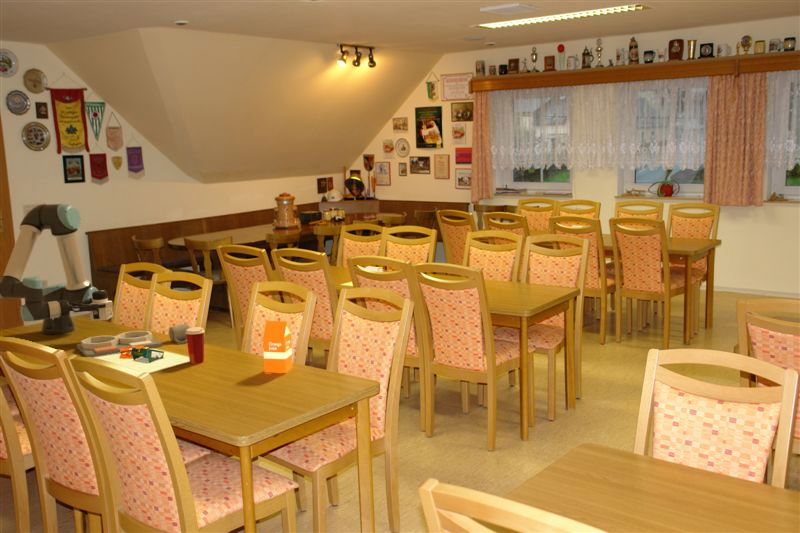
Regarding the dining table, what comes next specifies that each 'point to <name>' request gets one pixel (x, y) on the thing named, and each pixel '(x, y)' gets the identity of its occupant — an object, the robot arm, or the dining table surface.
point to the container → (102, 313)
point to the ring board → (116, 343)
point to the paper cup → (195, 344)
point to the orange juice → (277, 347)
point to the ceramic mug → (178, 333)
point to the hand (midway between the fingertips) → (109, 302)
